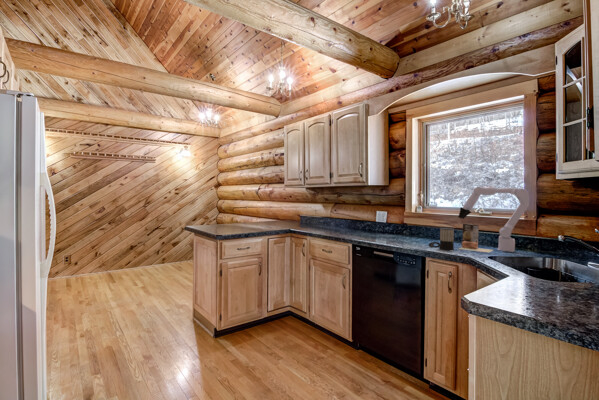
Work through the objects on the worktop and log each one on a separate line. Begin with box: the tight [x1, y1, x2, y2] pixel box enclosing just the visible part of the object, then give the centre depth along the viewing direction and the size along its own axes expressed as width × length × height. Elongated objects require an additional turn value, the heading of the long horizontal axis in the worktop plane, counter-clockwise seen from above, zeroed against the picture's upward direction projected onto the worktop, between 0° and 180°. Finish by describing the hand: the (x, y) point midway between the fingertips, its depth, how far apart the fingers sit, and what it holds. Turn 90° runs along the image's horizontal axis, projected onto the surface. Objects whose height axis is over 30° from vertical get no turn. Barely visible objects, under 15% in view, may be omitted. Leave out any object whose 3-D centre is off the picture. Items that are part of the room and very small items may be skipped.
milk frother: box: [428, 227, 455, 251], centre depth 215 cm, size 14×16×15 cm
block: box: [461, 241, 479, 249], centre depth 217 cm, size 9×5×4 cm, turn 48°
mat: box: [458, 246, 494, 254], centre depth 211 cm, size 19×15×1 cm
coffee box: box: [461, 223, 480, 244], centre depth 232 cm, size 9×6×16 cm
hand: (460, 217), depth 225 cm, fingers open, 7 cm apart
